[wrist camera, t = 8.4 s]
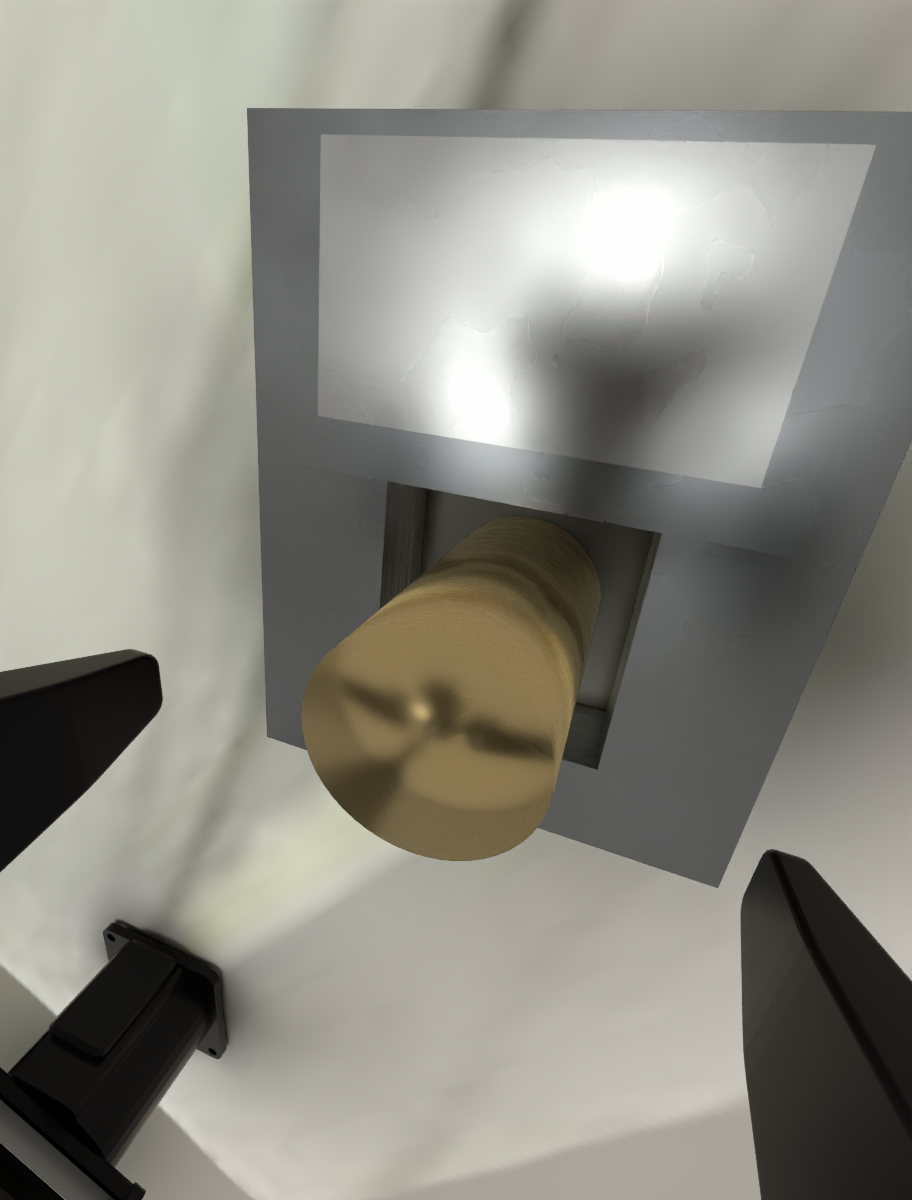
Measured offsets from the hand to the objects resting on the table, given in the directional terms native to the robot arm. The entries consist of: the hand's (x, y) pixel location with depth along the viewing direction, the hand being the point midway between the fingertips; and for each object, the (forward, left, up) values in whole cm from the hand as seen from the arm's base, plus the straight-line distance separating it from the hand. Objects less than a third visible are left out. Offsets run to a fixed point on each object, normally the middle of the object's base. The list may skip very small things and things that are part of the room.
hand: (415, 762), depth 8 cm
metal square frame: (+2, 0, -7) cm, 8 cm away
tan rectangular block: (0, 0, -7) cm, 7 cm away
